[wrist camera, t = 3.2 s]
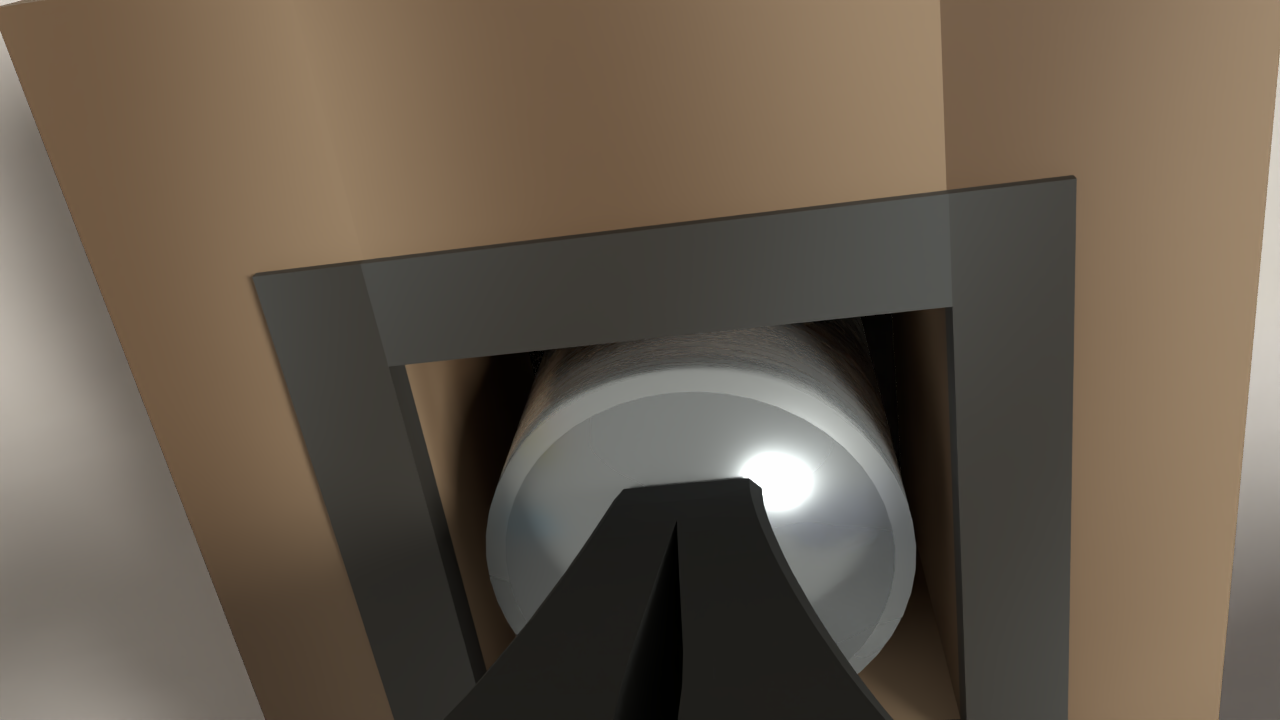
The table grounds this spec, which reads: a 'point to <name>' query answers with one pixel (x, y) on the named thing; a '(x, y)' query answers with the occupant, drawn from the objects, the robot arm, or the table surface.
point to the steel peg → (716, 462)
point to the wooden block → (683, 297)
